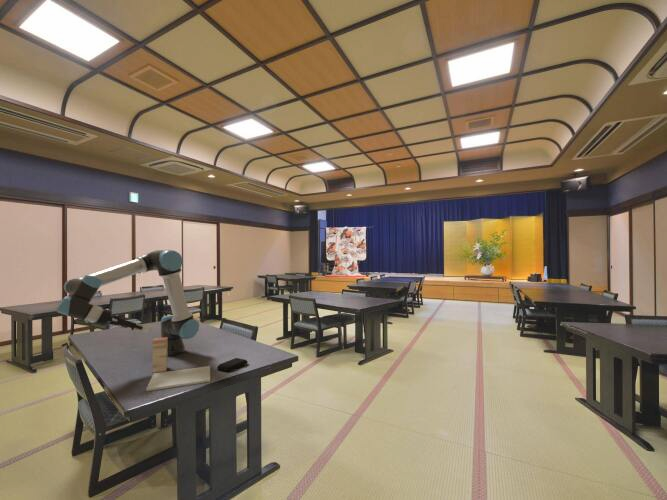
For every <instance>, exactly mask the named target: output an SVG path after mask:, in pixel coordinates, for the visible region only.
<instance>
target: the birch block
mask: <svg viewBox="0 0 667 500" xmlns="http://www.w3.org/2000/svg"><path fill="white" fill-rule="evenodd" d="M167 347H168V337H165V338H161V337H156V338H153V340H152V373H153V374H154V373H160V372H167V369H168V356H167Z"/></svg>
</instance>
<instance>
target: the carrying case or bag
mask: <svg viewBox="0 0 667 500" xmlns="http://www.w3.org/2000/svg"><path fill="white" fill-rule="evenodd" d="M246 365H248V360H247V359H244V358H241V357H240V358H238V357H235V358H233V359H229V360H227V361H225V362H222V363H219V364H218V365H217V367H216V369H217V370H218V371H222V372H226V373H231V372H233V371H236V370H237V369H240V368H242V366H243V367H245V366H246ZM235 369H236V370H235ZM230 371H231V372H230Z"/></svg>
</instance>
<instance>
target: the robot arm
mask: <svg viewBox="0 0 667 500" xmlns="http://www.w3.org/2000/svg"><path fill="white" fill-rule="evenodd" d="M183 263H184V261H183V257H182V255H181V254H180V253H179V251H176V250H173V249H161V250H153V251H151V252H148V253H146V254H143V255H140V256H137V257H136V258H135V259H134V260H130V261H128V262H123V263H122V264H117V265H115V266H111V267H109V268H106V269H103V270H100V271H96V272H94V273H91V274H85V275H84V276H81V277H78V278H72V279H71V278H70V279H69V280H67V281H66V282H64V285H63V290H64V291H65V292H66V293H67V294H70V295H71V296H64V297H63V299H62V300H61V301H60V303H59V304H58V306H57V307H56V310H55V311H56V313H59V314H61V315H65V316H67V317H70V318H75V319H78V320H81V321H84V322H85V323H86V324H88V323H92V324H95V325H98V326H102V327H104V326H105V325H106V324H107V323H109V325H113V326H117V327H122V328H125V329H129V330H132V331H135V332H138V333H141V332H142V333H146V334H148V333H149V331H150V328H151V327H150V326H145V325H142V324H140V323H136V322H134V321H130V320H126V319H124V318H123V317H122V318H121V317H119V316H116V315H114V316H112V314H113V312H112V310H109V309H107V308H103V307H102V306H99V305H95V304H91V302H92V300H93V299H94V296H96V293H97V292H98V290H99V289H100V288H101V287H103V286H106V285H109V284H111V283H114V282H117V281H120V280H122V279H126V278H128V277H131V276H134V275H137V274H139V273H147V272H151V271H157V273H158V275H159V277H161V278H162V279H163V284H164V287H165V290H166V291H165V292H166V295H167V298H168V301H169V306H170V308H171V312H172V314H171V315H165V316H162V317H161V319H160V338H165V337H168V347H167V357H171V356H177V355H180V354H182V353H185V351H186V346H185V343H184V340H190V339H192V338H194V337H195V336H196V335H197V334H198V332H199V330H200V323H199V321H198V320H197V319H195V318H194V314H193V313H192V312H191V311H189V306H188V302H187V298H186V296H185V292H184V288H183V283H182V279H181V276H180V273H181V272H182V268H181V267H182V265H183Z"/></svg>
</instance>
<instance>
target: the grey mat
mask: <svg viewBox="0 0 667 500" xmlns="http://www.w3.org/2000/svg"><path fill="white" fill-rule="evenodd" d="M150 378H151V379H150V380H149V381H148V382H149V383H148V384H147V387H146V389H145V390H146V391H145V392H150V391H157V390H158V391H159V390H163V389H164V390H165V389H171V388H177V387H184V386H191V385H197V384H198V385H199V384H204V383H205V382H206V383H210V382H211V365H208V366H200V367H192V368H184V369H183V368H182V369H178V370H176V369H175V370H169V371H163V372H155V373H153V375H152V376H151V377H150Z"/></svg>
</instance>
